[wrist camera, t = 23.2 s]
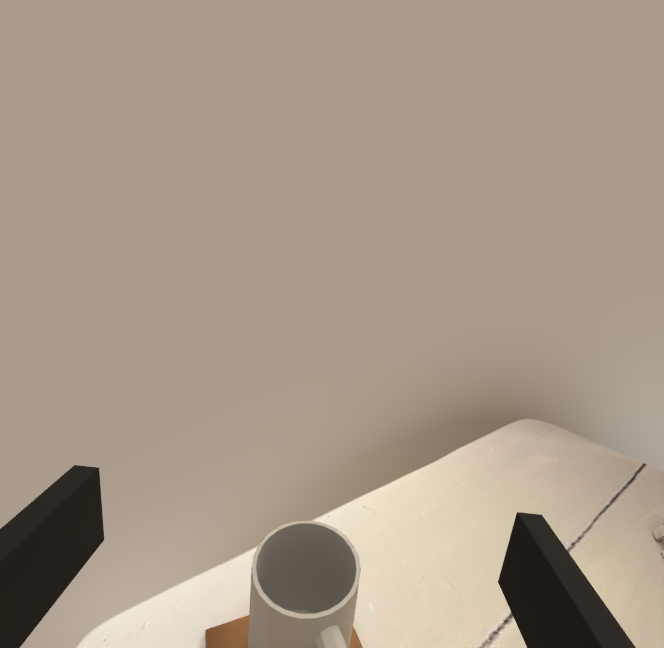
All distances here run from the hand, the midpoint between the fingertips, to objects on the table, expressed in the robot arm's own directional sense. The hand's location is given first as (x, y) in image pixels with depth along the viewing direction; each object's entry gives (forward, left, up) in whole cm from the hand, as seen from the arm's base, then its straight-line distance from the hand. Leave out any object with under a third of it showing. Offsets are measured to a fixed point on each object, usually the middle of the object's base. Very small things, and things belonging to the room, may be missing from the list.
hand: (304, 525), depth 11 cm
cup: (+4, +8, -22) cm, 23 cm away
